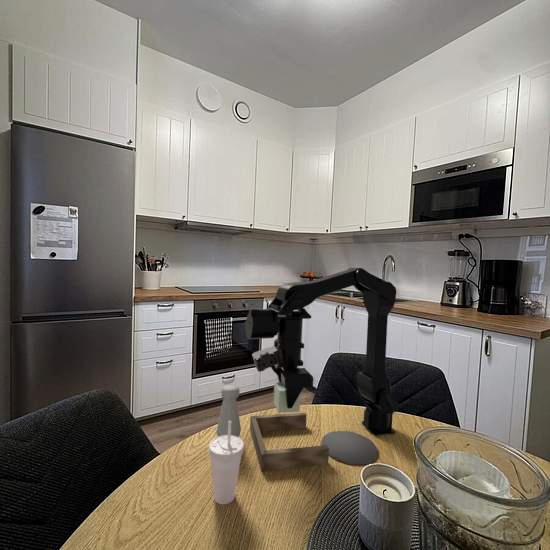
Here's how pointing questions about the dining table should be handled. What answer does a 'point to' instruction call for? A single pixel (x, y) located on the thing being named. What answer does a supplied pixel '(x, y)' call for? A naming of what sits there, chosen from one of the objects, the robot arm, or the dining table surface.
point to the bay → (284, 456)
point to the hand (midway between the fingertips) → (286, 402)
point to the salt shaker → (229, 412)
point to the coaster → (350, 447)
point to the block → (284, 400)
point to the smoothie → (225, 465)
